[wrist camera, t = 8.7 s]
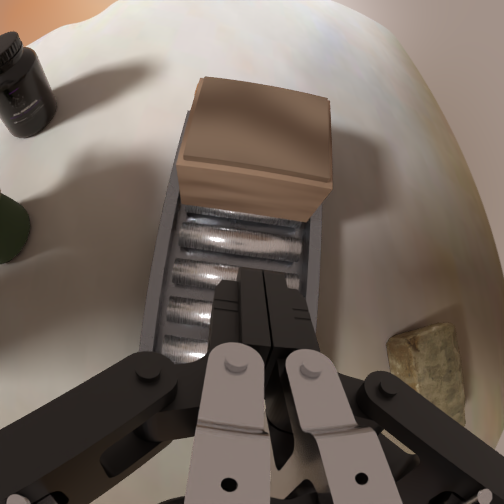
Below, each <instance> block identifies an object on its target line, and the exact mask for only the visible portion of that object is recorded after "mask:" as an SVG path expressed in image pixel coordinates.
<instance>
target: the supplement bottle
mask: <svg viewBox="0 0 504 504" xmlns="http://www.w3.org/2000/svg"><path fill="white" fill-rule="evenodd" d="M56 107H57V102H56V99H55V96H54V94H53V92H52V89H51V87H50V85H49V82H48V80H47V78H46V76H45V73H44V71H43V68H42V66H41V64H40V61H39V59H38V56H37V54H36V52H35V51H34V50H33V49H31V48H28V47H23V44H22V41H21V40H20V38H19V35H18V33H17V32H8V33H5V34H3V35H1V36H0V118H1V120H2V121H3V123H4V124H5V126H6V127H7V129H8V130H9V131H10V133H11V134H12V135H14V136H15V137H18V138H25V137H29V136H32V135H34V134H36V133H38V132H39V131H41V130H42V129H43V128H44V127H45V126H46V125H47V124H48V123H49V122H50V121H51V119H52V118H53V116H54V114H55V111H56Z"/></svg>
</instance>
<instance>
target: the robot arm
mask: <svg viewBox="0 0 504 504" xmlns="http://www.w3.org/2000/svg"><path fill="white" fill-rule="evenodd" d="M308 311H309V309H308V306H307V302H306V299H305V298H304V297H303V296H302V294H301V293H300V292H299V291H298V290H297V289H291V288H288V287H287V282H286V278H285V274H284V273H282V272H275V271H267V270H260V269H253V268H246V267H239V270H238V274H237V279H236V281H231V280H224V279H222V280H221V281H220V283H219V284H218V285H217V286H216V287H215V292H214V298H213V304H212V311H211V317H210V324H209V336H208V348H207V353H206V354H205V355H204V356H203V357H202V358H200V359H198V360H196V361H193V362H190V363H183V364H174V363H173V362H172V361H171V360H170V359H169V358H168V357H166V356H164V355H162V354H160V353H157V352H152V351H142V352H137V353H134V354H132V355H130V356H128V357H126V358H124V359H123V360H121V361H119V362H118V363H116V364H114V365H113V366H111V367H109V368H108V369H106V370H104V371H102V372H101V373H99V374H97V375H96V376H94V377H92V378H91V379H89V380H87V381H85V382H84V383H82V384H80V385H78V386H77V387H75V388H73V389H72V390H70V391H68V392H66V393H65V394H63V395H61V396H59V397H58V398H56V399H54V400H52V401H51V402H49V403H47V404H45V405H44V406H42V407H40V408H38V409H37V410H35V411H33V412H31V413H29V414H28V415H26V416H24V417H22V418H21V419H19V420H17V421H15V422H13V423H12V424H10V425H8V426H6V427H4V428H2V429H1V430H0V504H89V503H91V502H92V501H94V500H95V499H97V498H98V497H99V496H101V495H102V494H104V493H105V492H107V491H108V490H109V489H111V488H112V487H114V486H115V485H116V484H118V483H119V482H120V481H122V480H123V479H125V478H126V477H127V476H129V475H130V474H131V473H133V472H134V471H135V470H137V469H138V468H139V467H141V466H142V465H143V464H145V463H146V462H147V461H148V460H150V459H151V458H152V457H154V456H155V455H156V454H157V453H159V452H160V451H161V450H162V449H164V448H165V447H166V446H167V445H169V444H170V443H171V442H172V441H173V440H175V439H181V438H187V437H193V436H195V437H194V443H193V449H192V455H191V462H190V468H189V474H188V481H187V487H186V494H185V496H182V497H177V498H173V499H169V500H166V501H163V502H161V503H159V504H504V457H503V456H502V455H501V454H499V453H498V452H497V451H495V450H494V449H493V448H491V447H490V446H489V445H487V444H486V443H485V442H483V441H482V440H480V439H479V438H478V437H476V436H475V435H474V434H472V433H471V432H470V431H468V430H467V429H466V428H464V427H463V426H462V425H460V424H459V423H458V422H456V421H455V420H454V419H452V418H451V417H450V416H448V415H447V414H446V413H444V412H443V411H442V410H440V409H439V408H438V407H436V406H435V405H434V404H433V403H431V402H430V401H429V400H427V399H426V398H425V397H423V396H422V395H421V394H419V393H418V392H417V391H415V390H414V389H413V388H411V387H410V386H409V385H407V384H406V383H405V382H403V381H402V380H401V379H400V378H398V377H397V376H395V375H393V374H391V373H389V372H385V371H375V372H372V373H370V374H369V375H368V376H367V377H366V379H365V380H364V381H363V380H360V379H356V378H353V377H349V376H346V375H343V374H340V373H338V372H337V371H336V368H335V366H334V364H333V363H332V361H331V360H330V359H329V358H328V357H327V356H325V355H324V354H322V353H320V349H319V345H318V342H317V338H316V334H315V331H314V327H313V324H312V321H311V316H310V313H309V312H308ZM264 399H265V403H266V409H265V412H264ZM384 429H385V430H386V431H387V432H389V433H390V434H391V435H393V436H394V437H395V438H396V439H398V440H399V441H400V442H401V443H403V444H404V445H405V446H407V447H408V448H409V449H410V450H412V451H413V452H414V453H416V454H413V455H412V454H408V453H406V452H404V451H403V450H402V449H400V448H399V447H398V446H397V445H395V444H394V443H393V442H392V441H390V440H389V439H388V438H387V437H385V436H384V435H383V434H381V432H382V431H383V430H384ZM270 471H271V481H270Z"/></svg>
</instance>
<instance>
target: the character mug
mask: <svg viewBox="0 0 504 504" xmlns="http://www.w3.org/2000/svg"><path fill="white" fill-rule="evenodd" d="M29 230H30V222H29V215H28V213H27V212H26V210H25V209H24V208H23V207H22V205H20V204H19V203H17V202H16V201H14V200H13V199H11V198H9V197H7V196H6V195H4V194H2V193H1V190H0V264H2V263H5V262H9V261H10V260H11V259H12V258H14V257H15V256H16V255H17V254H18V253H19V252H20V251H21V249H22V247H23V246H24V244H25V243H26V241H27V238H28V234H29Z"/></svg>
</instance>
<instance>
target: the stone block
mask: <svg viewBox="0 0 504 504" xmlns="http://www.w3.org/2000/svg"><path fill="white" fill-rule="evenodd" d="M386 346H387V355H388V360H389V365H390V371H391V374H393V375H395V376H397V377H398V378H400V379H401V380H402V381H403V382H405V383H406V384H407V385H409V386H410V387H411V388H413V389H414V390H415V391H417V392H418V393H419V394H421V395H422V396H423V397H425V398H426V399H427V400H429V401H430V402H431V403H433V404H434V405H435V406H436V407H438V408H439V409H440V410H442V411H443V412H444V413H446V414H447V415H448V416H450V417H451V418H452V419H454V420H455V421H456V422H458V423H459V424H460V425H462V426H463V427H464V426H465V424H466V420H465V410H464V407H465V394H464V385H463V374H462V366H461V359H460V353H459V348H458V344H457V337H456V330H455V326H454V325H453V324H452V323H449V322H448V323H437V324H432V325H429V326H427V327H423V328H420V329H416V330H413V331H408V332H405V333H402V334H399V335H395V336H393V337H391V338H389V340H388V342H387V343H386Z"/></svg>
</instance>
